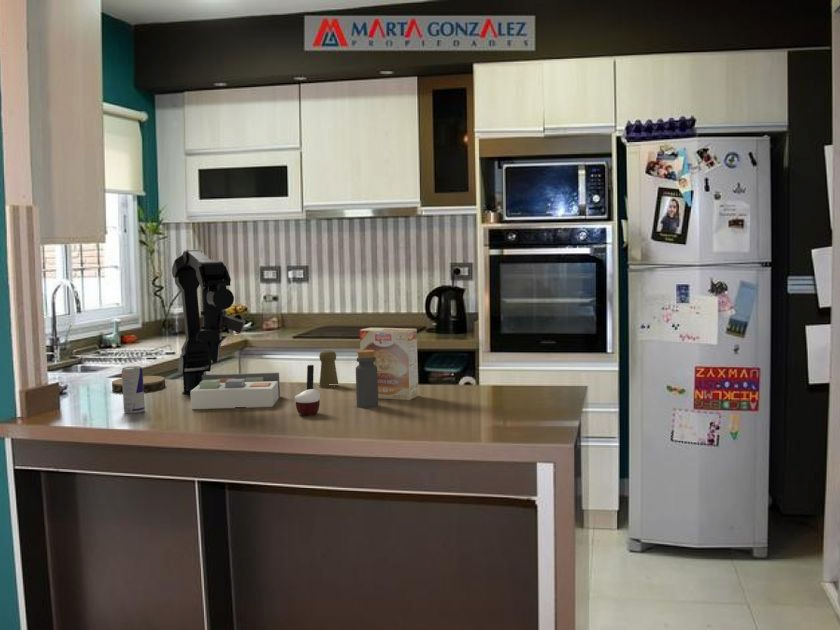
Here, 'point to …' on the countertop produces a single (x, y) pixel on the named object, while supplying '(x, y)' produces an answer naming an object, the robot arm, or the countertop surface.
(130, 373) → the energy drink
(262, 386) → the terracotta key
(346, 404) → the countertop surface
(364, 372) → the bottle
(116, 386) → the wood slice
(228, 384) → the slate key
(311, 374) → the rounded body with stick
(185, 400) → the countertop surface
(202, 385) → the sage key
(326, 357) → the cork
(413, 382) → the coffeecake box
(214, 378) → the keypad housing
